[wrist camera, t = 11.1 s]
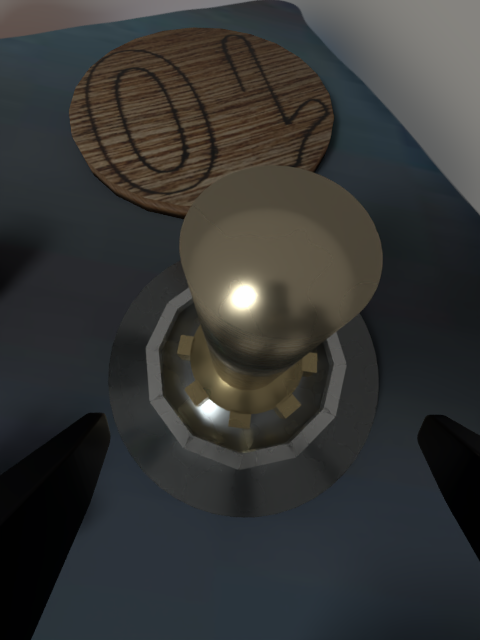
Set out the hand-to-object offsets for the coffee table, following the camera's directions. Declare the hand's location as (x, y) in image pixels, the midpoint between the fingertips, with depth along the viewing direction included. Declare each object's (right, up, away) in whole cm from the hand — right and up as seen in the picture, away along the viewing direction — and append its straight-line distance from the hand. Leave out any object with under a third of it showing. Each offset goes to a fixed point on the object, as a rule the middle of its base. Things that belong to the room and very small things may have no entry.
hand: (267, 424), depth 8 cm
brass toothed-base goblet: (0, 0, +10) cm, 11 cm away
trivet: (-4, +23, +20) cm, 31 cm away
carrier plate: (0, 0, +11) cm, 11 cm away
